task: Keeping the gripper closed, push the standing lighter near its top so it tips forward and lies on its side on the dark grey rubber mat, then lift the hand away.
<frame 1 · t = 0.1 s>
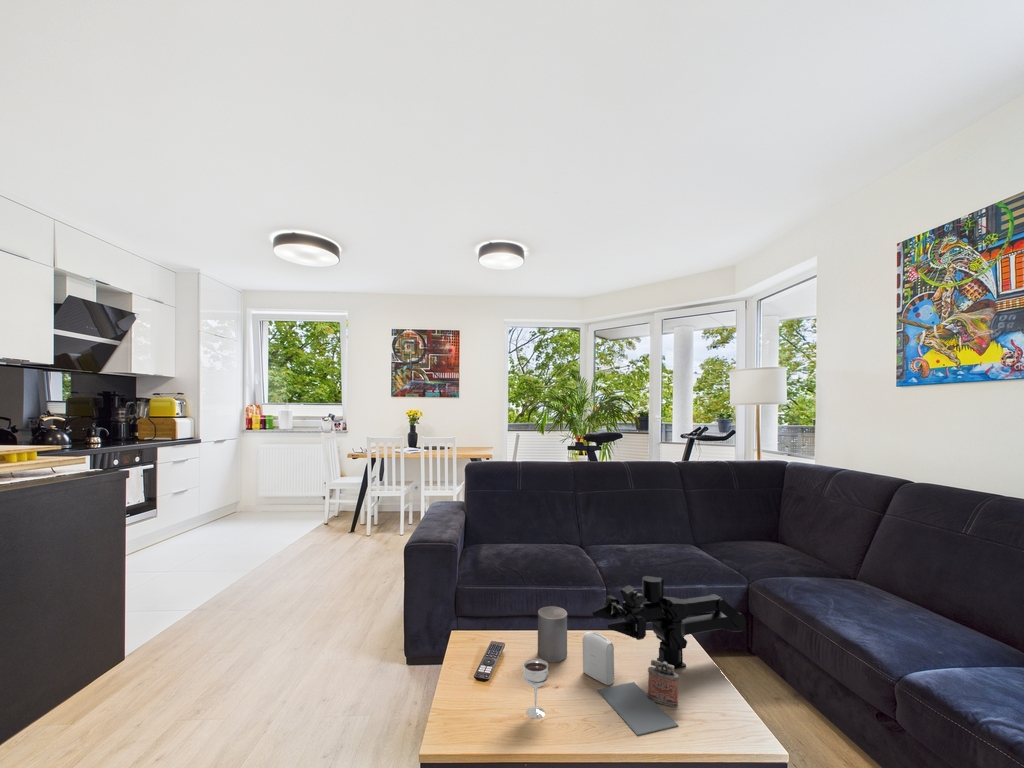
hand: (600, 619, 141), 17 cm above the table, tool horizontal, fingers open, 9 cm apart
rubber mat: (635, 707, 126), on the table
photo printer: (598, 677, 140), on the table
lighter: (662, 701, 128), on the table, touching rubber mat
wineglass: (535, 713, 123), on the table
pillar candle: (552, 655, 153), on the table
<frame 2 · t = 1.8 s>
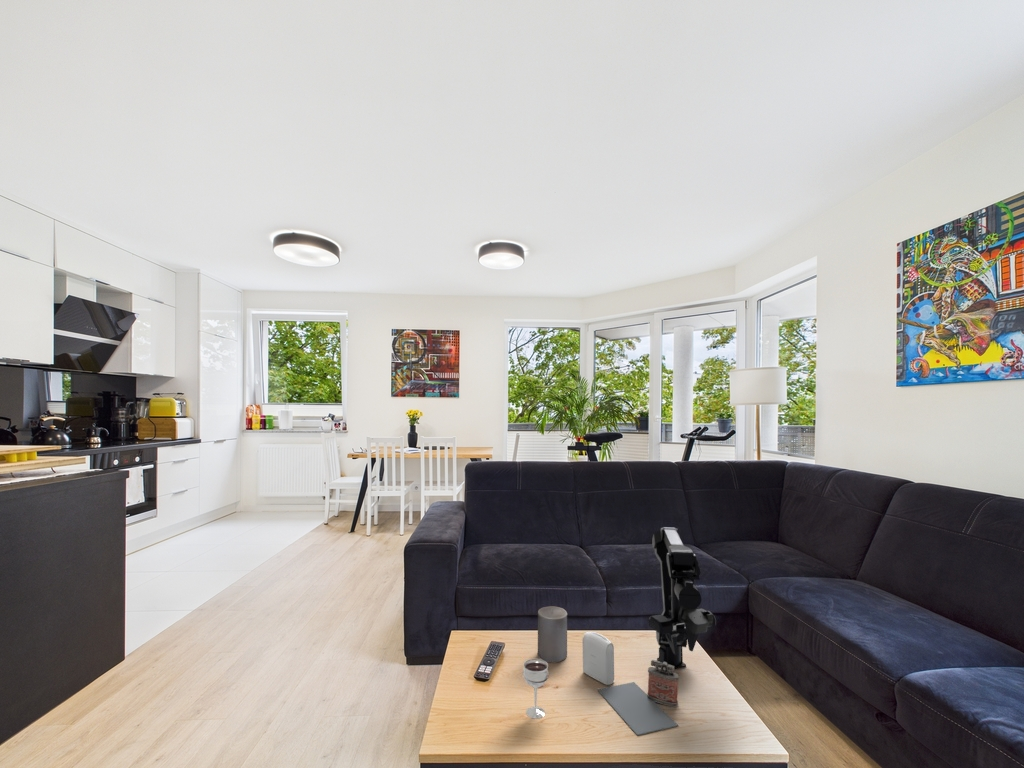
hand: (682, 652, 131), 12 cm above the table, tool pointing down, fingers open, 5 cm apart
nothing on the table moved.
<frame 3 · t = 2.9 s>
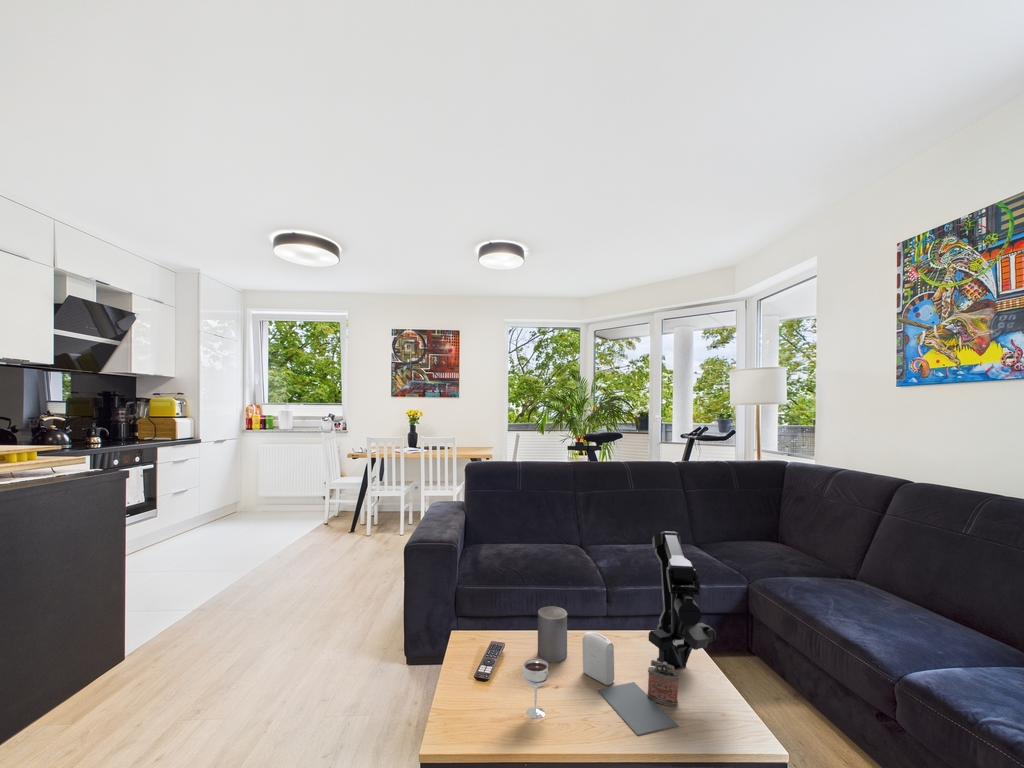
hand: (682, 667, 131), 8 cm above the table, tool pointing down, fingers closed
nothing on the table moved.
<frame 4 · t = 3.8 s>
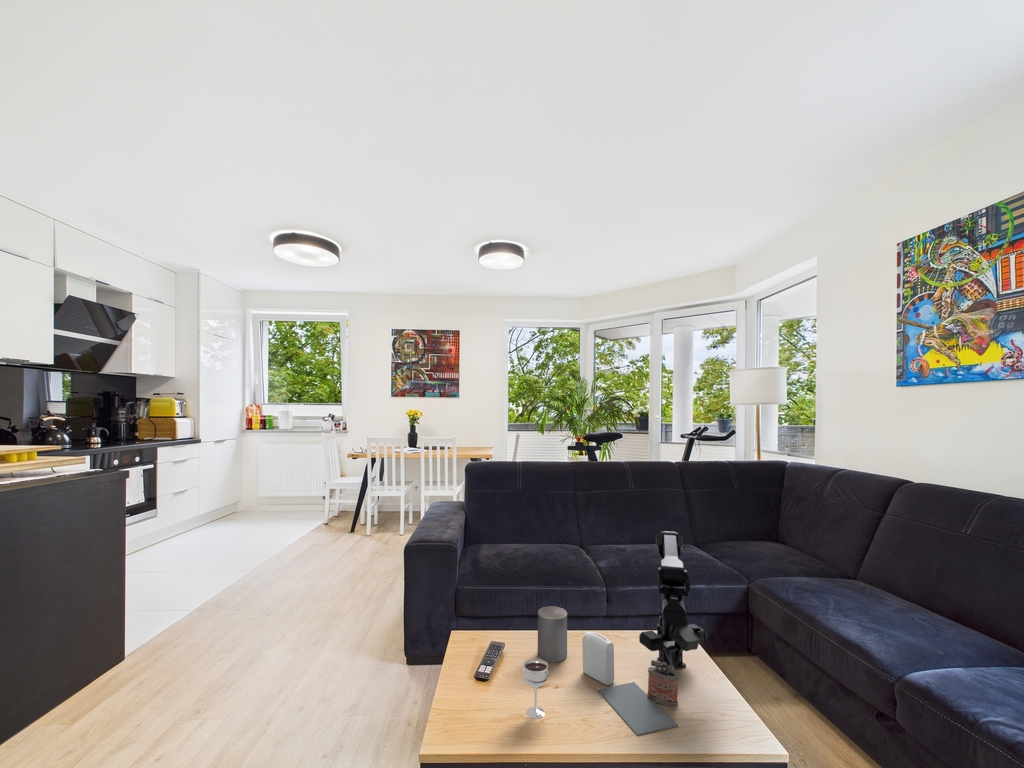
hand: (673, 668, 130), 8 cm above the table, tool pointing down, fingers closed
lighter: (662, 701, 128), on the table, touching gripper, rubber mat
everything else where it was.
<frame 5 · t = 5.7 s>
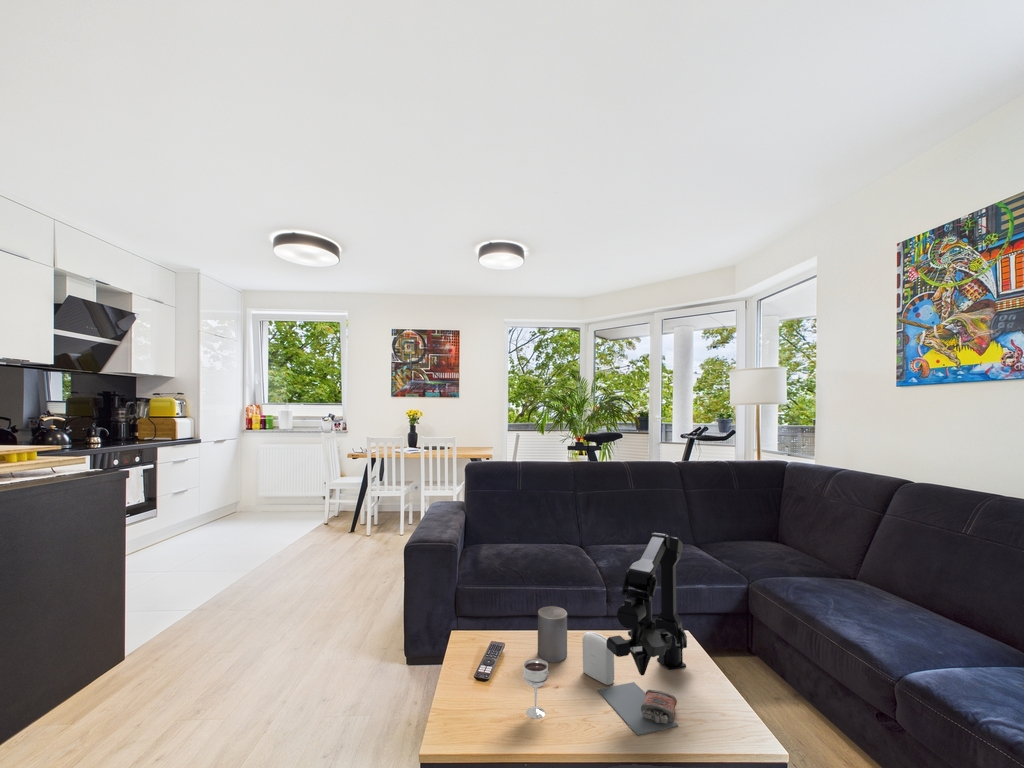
hand: (641, 674, 127), 8 cm above the table, tool pointing down, fingers closed
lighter: (661, 697, 127), point 2 cm above the table, touching rubber mat
everything else where it was.
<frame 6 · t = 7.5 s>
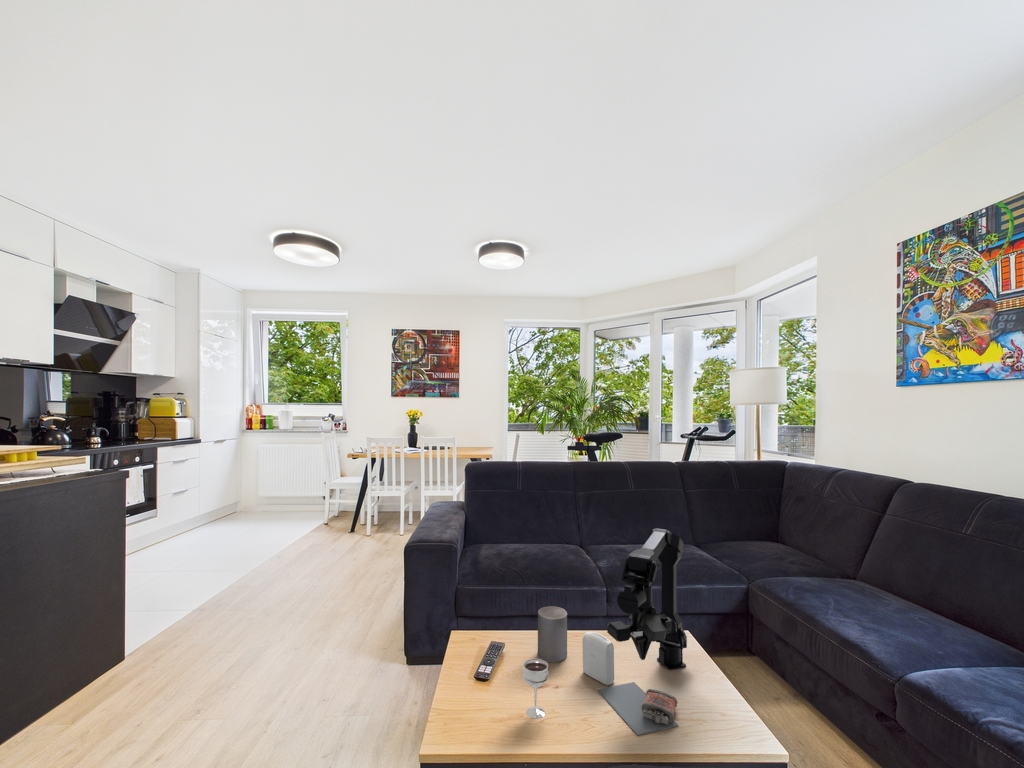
hand: (642, 659, 128), 12 cm above the table, tool pointing down, fingers closed
nothing on the table moved.
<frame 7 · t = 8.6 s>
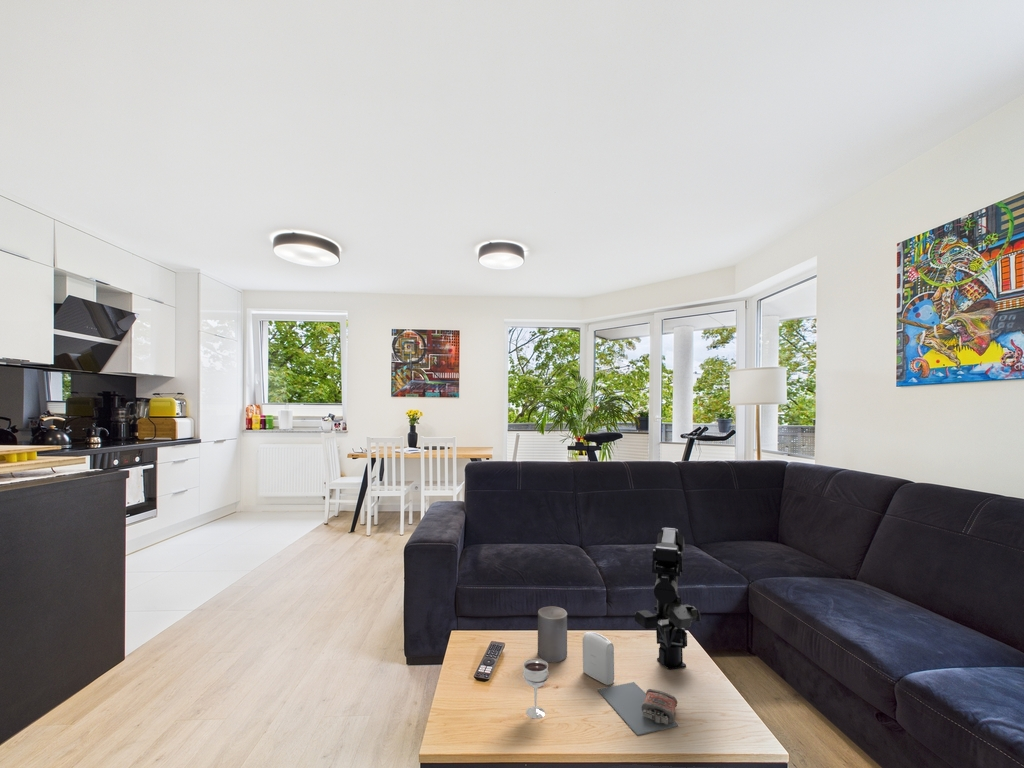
hand: (667, 646, 135), 12 cm above the table, tool pointing down, fingers closed
nothing on the table moved.
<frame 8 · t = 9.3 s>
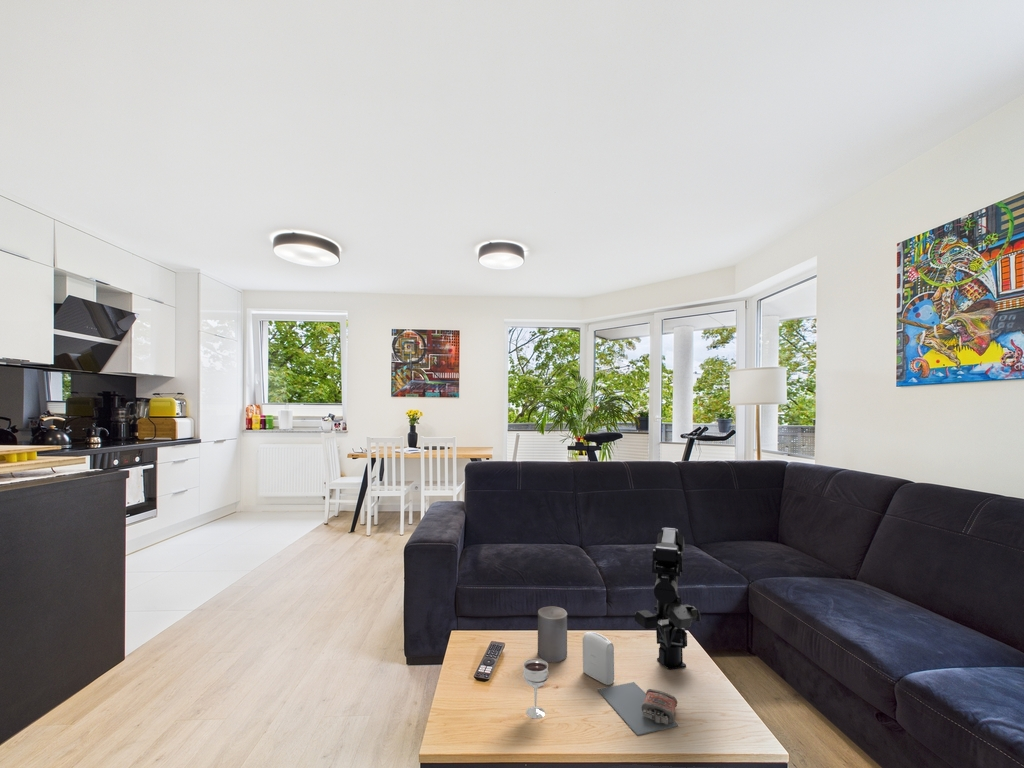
hand: (667, 646, 135), 12 cm above the table, tool pointing down, fingers closed
nothing on the table moved.
at the end: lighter tilted 90°; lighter touching rubber mat; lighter inside the target area (3.6 cm from its centre), point 2.0 cm above the table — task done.
